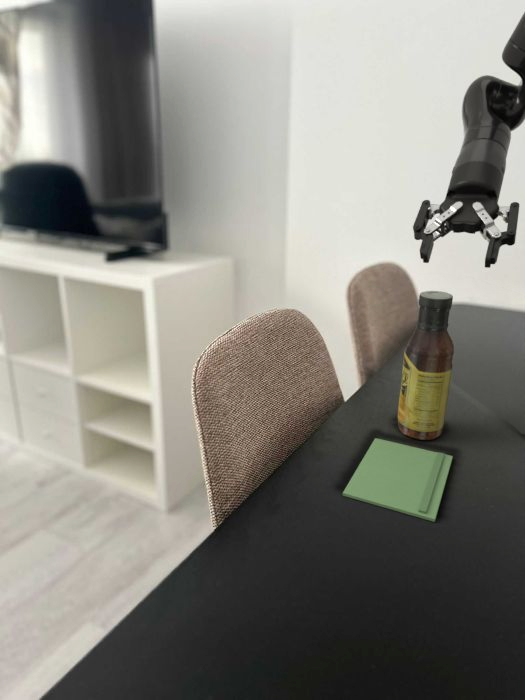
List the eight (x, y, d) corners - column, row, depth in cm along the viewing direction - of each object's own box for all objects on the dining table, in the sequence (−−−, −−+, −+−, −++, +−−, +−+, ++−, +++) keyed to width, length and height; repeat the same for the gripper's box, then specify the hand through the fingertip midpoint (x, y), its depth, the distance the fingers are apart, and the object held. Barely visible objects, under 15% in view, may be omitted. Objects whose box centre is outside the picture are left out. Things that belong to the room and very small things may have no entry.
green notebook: (374, 440, 69) (375, 435, 69) (452, 458, 65) (453, 454, 65) (342, 495, 57) (342, 490, 57) (434, 522, 53) (435, 516, 53)
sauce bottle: (403, 417, 76) (418, 285, 69) (446, 428, 73) (467, 291, 66) (389, 436, 70) (404, 294, 64) (436, 448, 67) (457, 301, 61)
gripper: (525, 196, 79) (507, 282, 74) (431, 194, 86) (408, 272, 80) (530, 158, 73) (511, 249, 67) (428, 159, 80) (403, 242, 74)
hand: (455, 261), depth 74 cm, fingers open, 8 cm apart
